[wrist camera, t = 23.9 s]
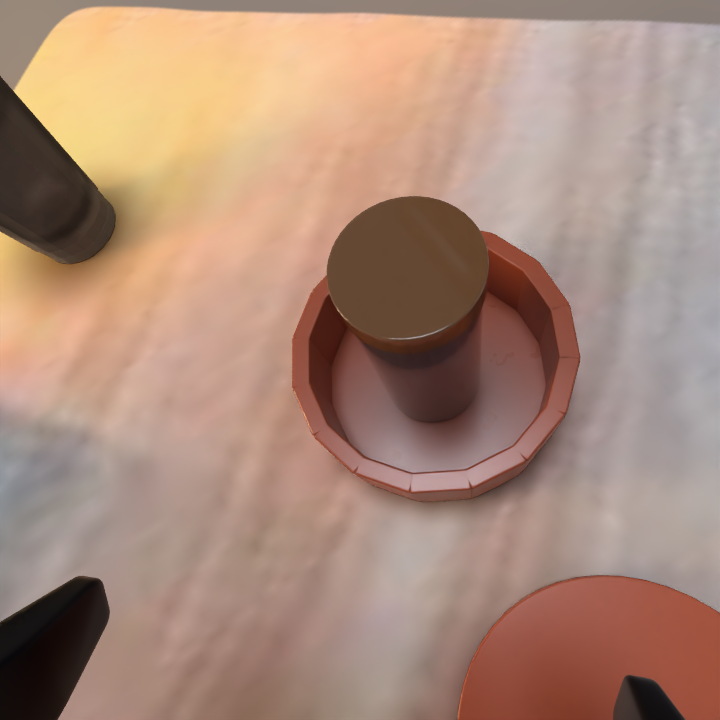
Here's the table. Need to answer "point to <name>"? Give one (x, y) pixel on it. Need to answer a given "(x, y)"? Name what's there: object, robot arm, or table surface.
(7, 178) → the beverage cup
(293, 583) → the table surface
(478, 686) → the lid
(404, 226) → the spice jar
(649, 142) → the table surface
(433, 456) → the pot
